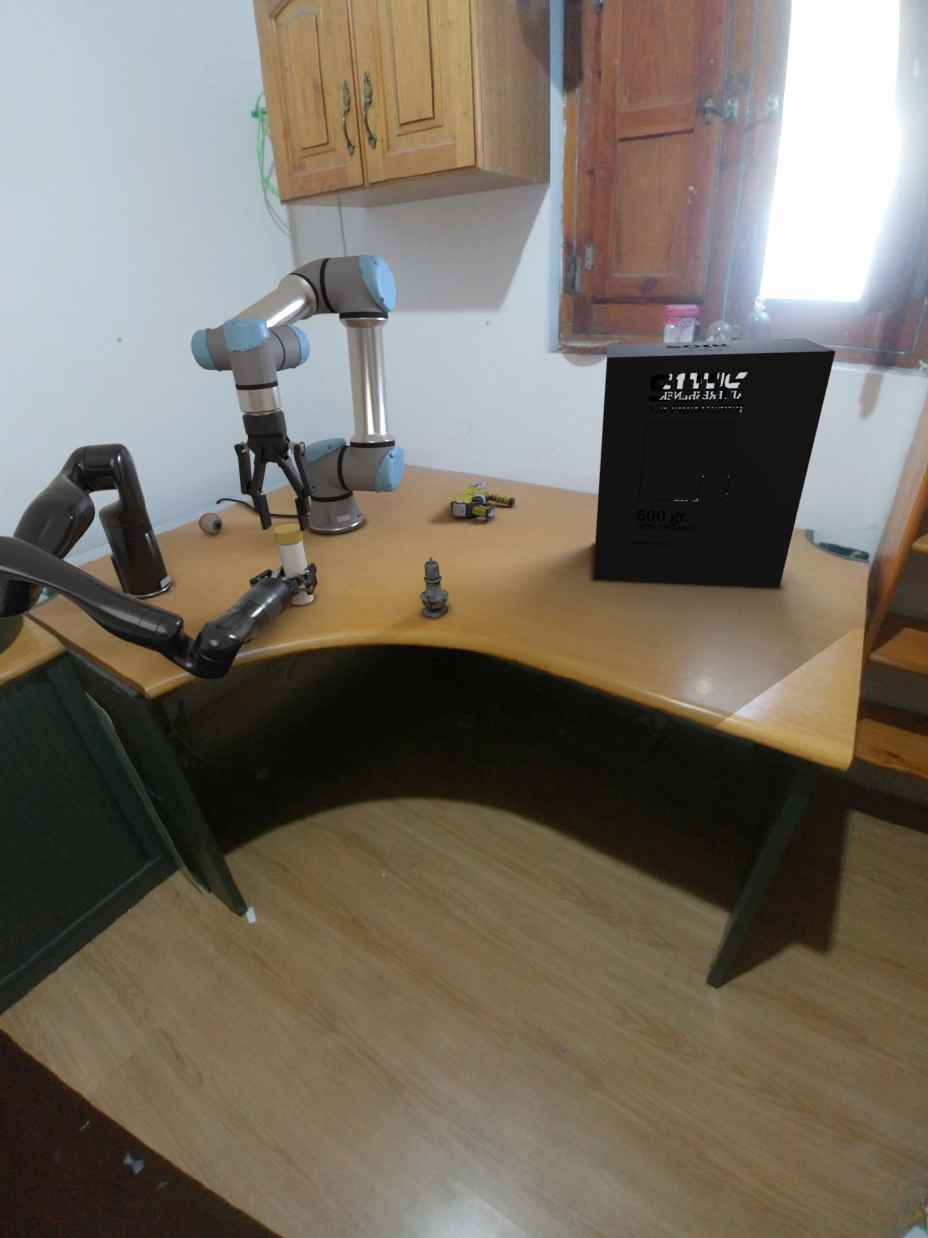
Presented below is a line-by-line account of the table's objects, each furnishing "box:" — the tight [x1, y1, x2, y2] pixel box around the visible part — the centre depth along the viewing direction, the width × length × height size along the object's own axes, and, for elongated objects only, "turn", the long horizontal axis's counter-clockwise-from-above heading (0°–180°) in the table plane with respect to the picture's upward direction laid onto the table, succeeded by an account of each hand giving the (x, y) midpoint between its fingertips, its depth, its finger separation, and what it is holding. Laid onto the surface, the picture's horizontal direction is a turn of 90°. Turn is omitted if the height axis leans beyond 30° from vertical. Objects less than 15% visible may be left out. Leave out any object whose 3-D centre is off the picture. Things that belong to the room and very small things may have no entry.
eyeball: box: [198, 512, 223, 536], centre depth 167 cm, size 6×6×6 cm
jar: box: [277, 539, 315, 606], centre depth 127 cm, size 5×5×16 cm
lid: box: [272, 523, 304, 545], centre depth 123 cm, size 6×6×2 cm
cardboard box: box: [592, 337, 836, 589], centre depth 125 cm, size 38×20×45 cm, turn 78°
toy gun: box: [449, 480, 516, 522], centre depth 174 cm, size 5×24×15 cm
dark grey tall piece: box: [419, 556, 450, 618], centre depth 120 cm, size 6×6×12 cm
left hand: (301, 566), depth 130 cm, fingers closed on jar, 5 cm apart
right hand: (286, 527), depth 122 cm, fingers open, 8 cm apart
